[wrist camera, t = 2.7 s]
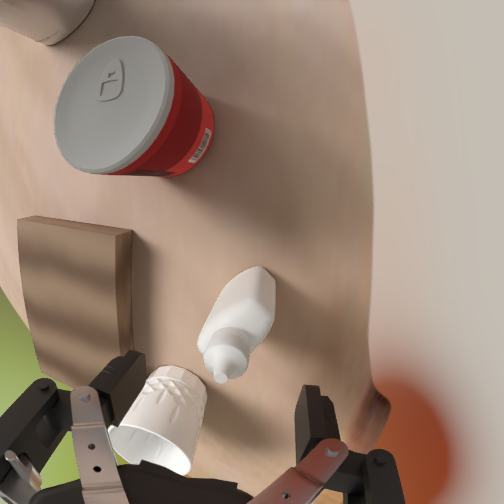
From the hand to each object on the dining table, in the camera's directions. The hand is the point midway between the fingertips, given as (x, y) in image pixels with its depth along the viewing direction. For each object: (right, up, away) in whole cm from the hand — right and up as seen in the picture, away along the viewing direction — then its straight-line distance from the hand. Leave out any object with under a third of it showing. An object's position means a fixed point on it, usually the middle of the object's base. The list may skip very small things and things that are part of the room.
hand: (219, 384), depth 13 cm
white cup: (-7, -9, +15) cm, 19 cm away
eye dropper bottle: (+1, +3, +12) cm, 13 cm away
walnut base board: (-18, 0, +14) cm, 23 cm away
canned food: (-5, +17, +9) cm, 20 cm away
